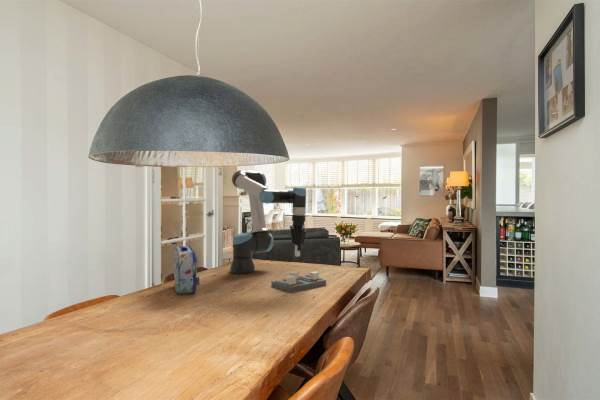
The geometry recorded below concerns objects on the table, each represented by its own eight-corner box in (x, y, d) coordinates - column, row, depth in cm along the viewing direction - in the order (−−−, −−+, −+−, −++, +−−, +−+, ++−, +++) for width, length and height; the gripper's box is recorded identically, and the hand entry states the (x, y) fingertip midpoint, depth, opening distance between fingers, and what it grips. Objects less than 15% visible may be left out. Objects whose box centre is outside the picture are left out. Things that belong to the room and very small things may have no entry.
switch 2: (309, 279, 185) (309, 272, 185) (315, 277, 188) (315, 271, 188) (313, 280, 183) (313, 273, 183) (319, 278, 185) (319, 272, 185)
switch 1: (286, 283, 175) (286, 276, 175) (292, 282, 177) (292, 275, 177) (290, 284, 172) (290, 277, 172) (296, 283, 175) (296, 276, 175)
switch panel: (271, 286, 181) (271, 280, 181) (305, 279, 196) (305, 273, 196) (291, 292, 169) (291, 286, 169) (326, 284, 184) (326, 278, 184)
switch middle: (289, 278, 185) (289, 272, 185) (295, 277, 188) (295, 271, 188) (293, 279, 183) (293, 273, 183) (298, 278, 186) (298, 272, 186)
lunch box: (200, 295, 162) (201, 248, 162) (177, 298, 157) (177, 249, 157) (192, 282, 187) (192, 241, 187) (171, 284, 182) (171, 242, 182)
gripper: (286, 213, 199) (285, 255, 200) (301, 215, 189) (299, 258, 190) (296, 213, 204) (295, 253, 205) (311, 215, 194) (310, 257, 195)
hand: (297, 256), depth 198 cm, fingers closed
